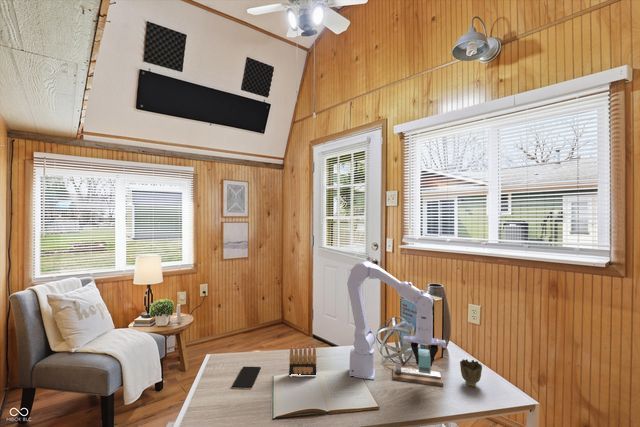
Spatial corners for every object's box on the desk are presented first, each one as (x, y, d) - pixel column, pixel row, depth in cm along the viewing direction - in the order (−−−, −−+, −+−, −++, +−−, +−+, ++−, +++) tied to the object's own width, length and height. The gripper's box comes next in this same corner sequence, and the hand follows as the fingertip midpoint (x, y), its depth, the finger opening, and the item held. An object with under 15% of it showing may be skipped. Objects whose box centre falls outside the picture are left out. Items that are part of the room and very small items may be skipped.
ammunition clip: (288, 377, 121) (289, 346, 121) (289, 374, 122) (289, 344, 122) (316, 377, 121) (316, 346, 121) (316, 374, 123) (316, 344, 123)
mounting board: (393, 379, 120) (393, 376, 120) (393, 368, 128) (393, 365, 128) (443, 386, 115) (443, 382, 115) (440, 374, 124) (440, 371, 124)
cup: (460, 388, 114) (460, 366, 114) (459, 378, 121) (459, 357, 121) (483, 392, 111) (483, 370, 111) (480, 382, 118) (480, 360, 118)
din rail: (394, 373, 121) (394, 369, 121) (394, 367, 126) (394, 363, 126) (441, 379, 117) (441, 375, 117) (439, 373, 122) (439, 368, 122)
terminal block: (418, 373, 111) (418, 356, 111) (417, 364, 118) (417, 348, 118) (430, 374, 110) (430, 357, 110) (429, 365, 117) (429, 349, 117)
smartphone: (231, 386, 112) (243, 366, 127) (231, 389, 112) (243, 368, 127) (251, 387, 112) (261, 366, 127) (251, 390, 112) (261, 369, 127)
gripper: (403, 328, 112) (403, 366, 112) (447, 333, 109) (446, 372, 109) (403, 322, 119) (403, 357, 119) (444, 326, 115) (444, 363, 115)
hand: (423, 364), depth 114 cm, fingers closed on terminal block, 4 cm apart
